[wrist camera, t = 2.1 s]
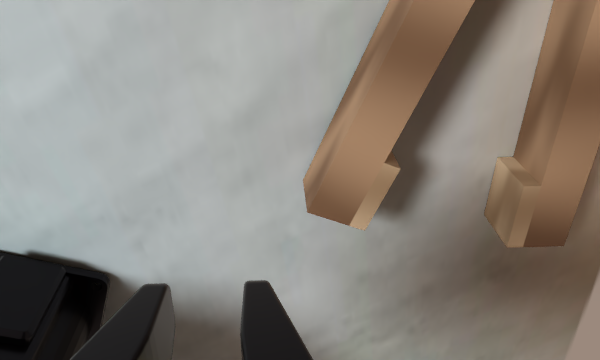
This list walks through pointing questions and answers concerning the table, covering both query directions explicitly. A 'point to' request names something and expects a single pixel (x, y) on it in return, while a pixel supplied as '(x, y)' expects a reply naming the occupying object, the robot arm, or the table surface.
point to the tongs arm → (379, 109)
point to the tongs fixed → (553, 134)
